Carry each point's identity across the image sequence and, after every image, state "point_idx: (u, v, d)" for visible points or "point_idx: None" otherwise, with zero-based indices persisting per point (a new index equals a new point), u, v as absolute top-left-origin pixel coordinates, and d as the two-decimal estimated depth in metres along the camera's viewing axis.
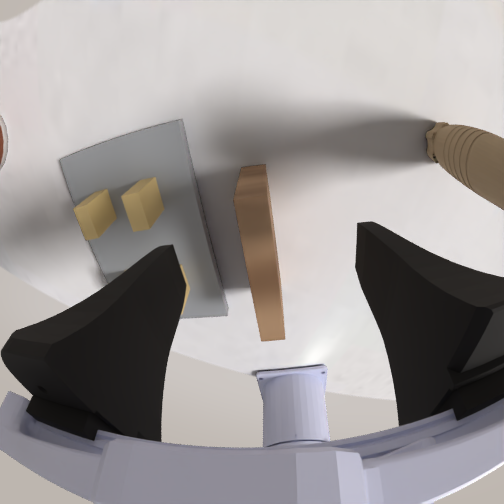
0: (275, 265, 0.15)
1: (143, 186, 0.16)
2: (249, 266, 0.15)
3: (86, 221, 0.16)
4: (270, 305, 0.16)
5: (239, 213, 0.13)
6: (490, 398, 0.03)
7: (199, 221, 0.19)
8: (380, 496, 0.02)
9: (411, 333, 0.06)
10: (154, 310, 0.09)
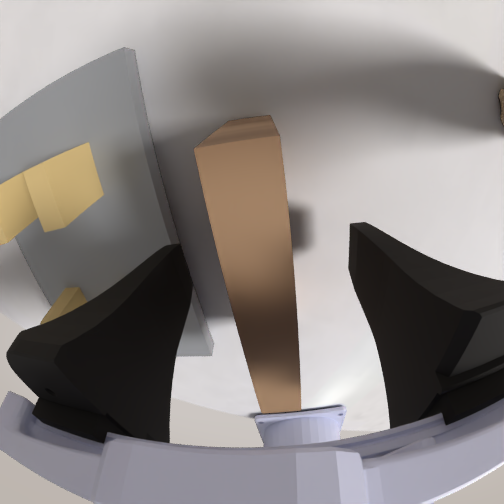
0: (294, 303, 0.07)
1: (59, 154, 0.08)
2: (237, 305, 0.07)
3: None
4: (278, 369, 0.08)
5: (210, 183, 0.05)
6: (481, 403, 0.04)
7: (158, 214, 0.11)
8: (380, 496, 0.02)
9: (401, 335, 0.06)
10: (162, 310, 0.09)
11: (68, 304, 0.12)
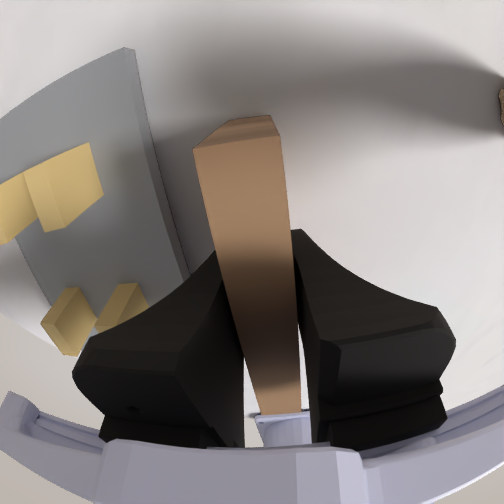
0: (294, 305, 0.07)
1: (59, 154, 0.08)
2: (236, 307, 0.07)
3: None
4: (278, 371, 0.08)
5: (209, 184, 0.05)
6: (377, 439, 0.04)
7: (158, 214, 0.11)
8: (380, 496, 0.02)
9: (308, 351, 0.06)
10: None
11: (68, 304, 0.12)
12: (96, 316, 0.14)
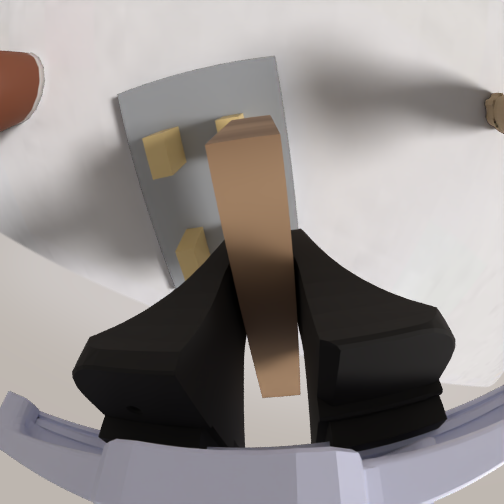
0: (293, 285, 0.08)
1: (238, 115, 0.14)
2: (240, 287, 0.08)
3: (159, 153, 0.14)
4: (278, 351, 0.09)
5: (219, 175, 0.06)
6: (376, 439, 0.04)
7: (289, 166, 0.17)
8: (380, 496, 0.02)
9: (307, 351, 0.06)
10: (236, 305, 0.08)
11: (199, 237, 0.18)
12: (210, 253, 0.20)
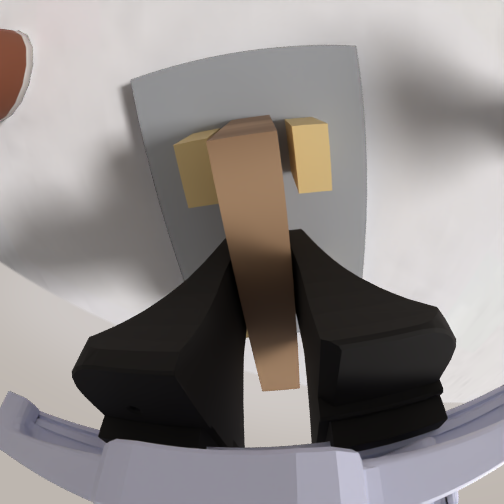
0: (290, 276, 0.08)
1: (317, 121, 0.09)
2: (240, 279, 0.08)
3: (200, 170, 0.09)
4: (278, 343, 0.09)
5: (219, 170, 0.06)
6: (377, 439, 0.04)
7: (363, 192, 0.13)
8: (380, 496, 0.02)
9: (308, 351, 0.06)
10: (235, 305, 0.08)
11: None
12: None
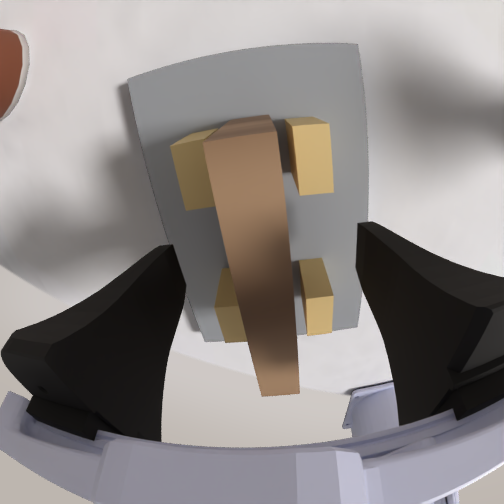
0: (291, 282, 0.08)
1: (319, 120, 0.09)
2: (239, 284, 0.08)
3: (197, 171, 0.09)
4: (277, 349, 0.09)
5: (216, 173, 0.06)
6: (490, 398, 0.03)
7: (365, 193, 0.12)
8: (380, 496, 0.02)
9: (411, 333, 0.06)
10: (154, 310, 0.09)
11: None
12: None
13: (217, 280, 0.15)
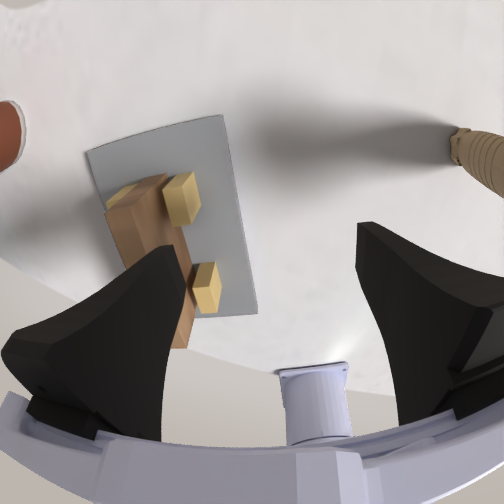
0: None
1: (184, 180, 0.16)
2: None
3: None
4: None
5: (111, 226, 0.13)
6: (490, 398, 0.03)
7: (237, 218, 0.19)
8: (380, 496, 0.02)
9: (411, 333, 0.06)
10: (154, 310, 0.09)
11: None
12: None
13: None
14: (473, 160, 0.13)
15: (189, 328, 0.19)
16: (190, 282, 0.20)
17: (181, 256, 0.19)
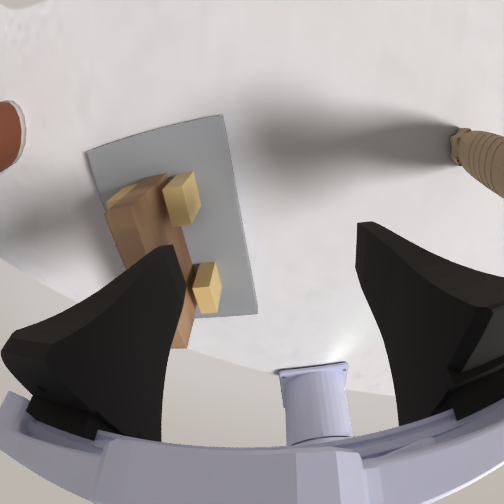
0: None
1: (184, 180, 0.16)
2: None
3: None
4: None
5: (111, 226, 0.13)
6: (490, 398, 0.03)
7: (237, 218, 0.19)
8: (380, 496, 0.02)
9: (411, 333, 0.06)
10: (154, 310, 0.09)
11: None
12: None
13: None
14: (473, 160, 0.13)
15: (189, 328, 0.19)
16: (190, 282, 0.20)
17: (181, 256, 0.19)
